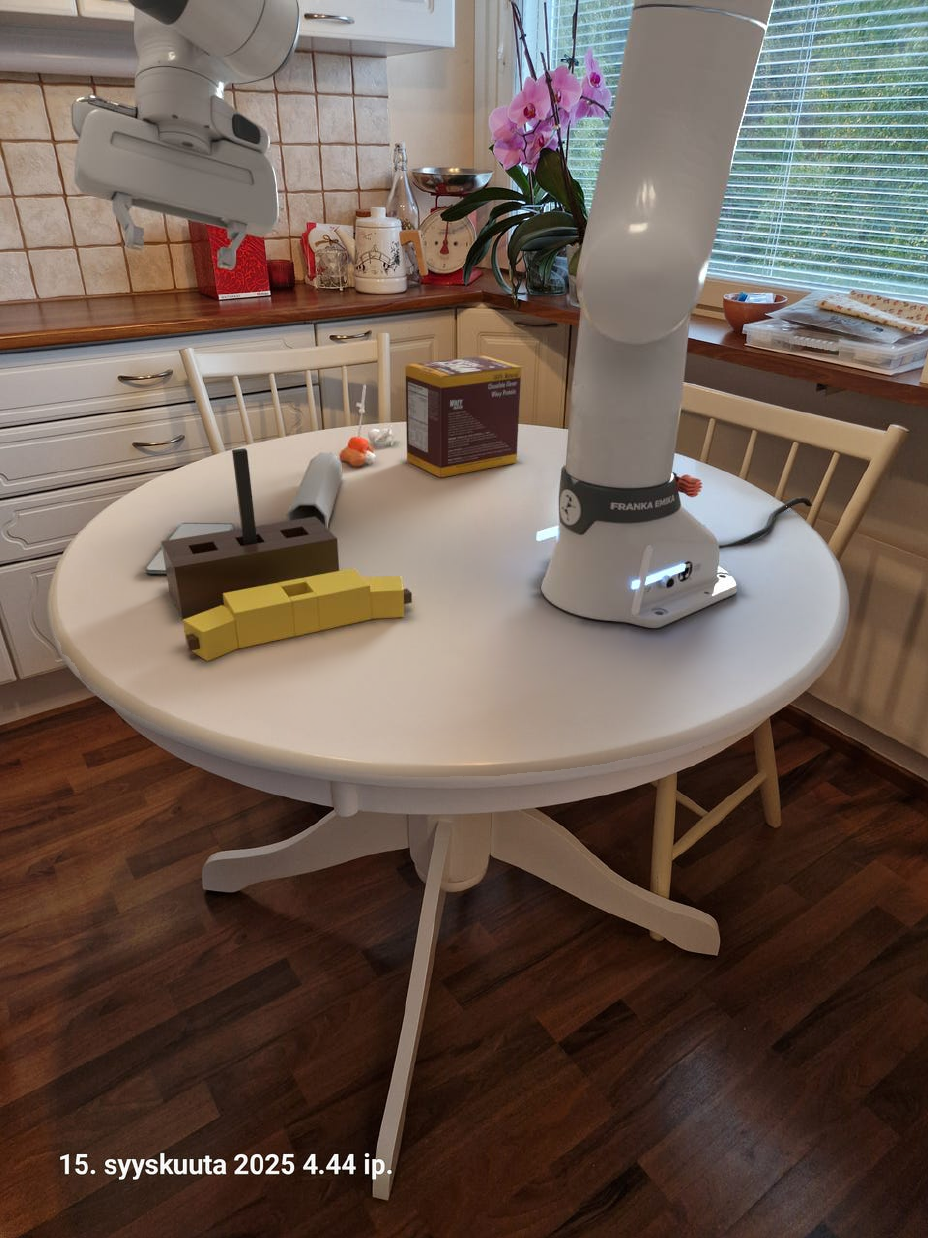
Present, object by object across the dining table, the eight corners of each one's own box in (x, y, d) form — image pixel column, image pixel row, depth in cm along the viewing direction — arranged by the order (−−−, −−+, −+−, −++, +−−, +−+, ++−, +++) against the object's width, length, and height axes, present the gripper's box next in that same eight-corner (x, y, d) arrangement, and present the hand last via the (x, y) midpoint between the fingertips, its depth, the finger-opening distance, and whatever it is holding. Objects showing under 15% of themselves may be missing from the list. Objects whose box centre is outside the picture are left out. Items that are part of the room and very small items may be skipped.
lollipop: (381, 452, 139) (378, 380, 133) (373, 469, 130) (370, 393, 125) (345, 451, 139) (342, 379, 133) (335, 468, 131) (330, 392, 125)
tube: (304, 453, 124) (278, 509, 102) (337, 442, 124) (318, 496, 102) (318, 485, 127) (295, 547, 104) (350, 474, 126) (334, 534, 104)
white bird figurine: (369, 433, 146) (377, 408, 144) (393, 443, 147) (402, 419, 145) (361, 446, 139) (370, 420, 137) (387, 456, 140) (396, 431, 138)
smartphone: (235, 523, 107) (204, 571, 94) (235, 527, 108) (205, 575, 94) (181, 522, 107) (143, 570, 94) (182, 526, 108) (144, 574, 94)
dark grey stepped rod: (262, 585, 93) (246, 447, 85) (264, 589, 92) (249, 450, 84) (246, 588, 92) (229, 449, 84) (248, 592, 91) (232, 452, 84)
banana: (181, 637, 82) (175, 602, 80) (393, 592, 92) (393, 560, 90) (193, 664, 77) (187, 627, 76) (415, 614, 87) (415, 580, 85)
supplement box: (518, 462, 135) (523, 365, 127) (439, 478, 127) (440, 375, 120) (482, 447, 142) (484, 354, 135) (405, 461, 135) (404, 363, 127)
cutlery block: (169, 591, 91) (160, 541, 88) (318, 563, 98) (315, 516, 96) (182, 619, 85) (173, 566, 83) (340, 587, 93) (337, 538, 90)
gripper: (76, 71, 77) (78, 222, 78) (283, 137, 88) (284, 268, 89) (66, 103, 82) (68, 244, 83) (263, 162, 93) (264, 285, 94)
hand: (181, 257), depth 86 cm, fingers open, 8 cm apart
